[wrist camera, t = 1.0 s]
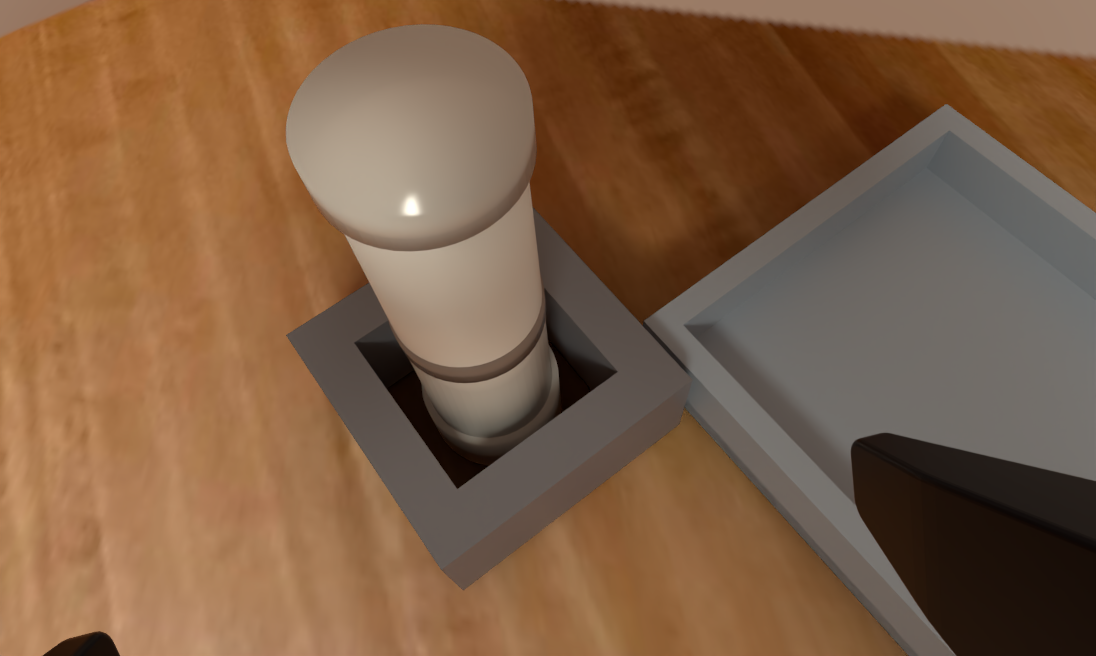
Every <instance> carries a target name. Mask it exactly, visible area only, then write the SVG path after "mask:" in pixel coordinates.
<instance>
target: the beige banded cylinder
mask: <svg viewBox="0 0 1096 656" xmlns="http://www.w3.org/2000/svg"><path fill="white" fill-rule="evenodd" d="M286 142H287V146H288V151H289V155H290V157H291V159H292V162H293V164H294V166H295V168H296V170H297V172H298V174H299V175H300V177H301V179H302V181H303V183H304V185H305V186H306V188H307V190H308V192H309V194H310V196H311V197H312V199H313V201H314V203H315V205H316V206H317V208H318V209H319V211H320V212H321V214H322V215H323V216H324V217H325V218H326V220H327V221H328V222H329V223H330V224H331V225H333V226H334V227H335V228H336V229H337V230H339V231H340V232H342V233H343V234H344V235H345V237H346V238H347V240H348V242H349V244H350V246H351V248H352V250H353V252H354V254H355V256H356V258H357V260H358V262H359V264H360V265H361V267H362V269H363V271H364V273H365V275H366V277H367V279H368V281H369V283H370V285H371V287H372V289H373V291H374V292H375V294H376V296H377V298H378V300H379V302H380V304H381V306H382V308H383V310H384V312H385V314H386V316H387V318H388V321H389V325H390V327H391V330H392V332H393V334H394V336H395V338H396V340H397V342H398V343H399V345H400V347H401V349H402V351H403V352H404V354H405V355H406V357H407V358H408V359H409V360H410V362H411V364H412V366H413V368H414V370H415V372H416V373H417V375H418V377H419V379H420V381H421V383H422V394H423V399H424V403H425V405H426V408H427V410H428V412H429V414H430V416H431V418H432V419H433V421H434V423H435V425H436V427H437V429H438V430H439V432H440V434H441V436H442V437H443V439H444V441H445V442H446V443H447V444H448V445H449V447H450V448H451V449H453V450H454V451H455V452H456V453H457V454H459V455H460V456H462V457H464V458H466V459H468V460H470V461H473V462H476V463H479V464H484V465H491V464H492V463H494V462H495V461H497V460H498V459H499V458H501V457H502V456H503V455H505V454H506V453H507V452H509V451H510V450H512V449H513V448H514V447H516V446H517V445H518V444H520V443H521V442H523V441H524V440H525V439H527V438H528V437H529V436H531V435H532V434H533V433H535V432H536V431H538V430H539V429H540V428H542V427H543V426H544V425H546V424H547V423H549V422H550V421H551V420H553V419H554V418H555V417H557V416H558V415H559V414H560V411H561V393H560V382H559V372H558V366H557V361H556V359H555V356H554V353H553V352H552V350H551V348H550V346H549V345H548V337H547V328H546V302H545V293H544V285H543V280H542V276H541V274H540V268H539V259H538V251H537V242H536V234H535V225H534V217H533V208H532V199H531V191H530V182H529V181H530V179H531V177H532V174H533V170H534V167H535V163H536V153H537V146H536V133H535V123H534V112H533V102H532V95H531V91H530V87H529V84H528V81H527V79H526V77H525V74H524V73H523V71H522V70H521V68H520V67H519V65H518V64H517V62H516V61H515V60H514V59H513V58H512V57H511V56H510V55H509V54H508V53H507V52H506V51H505V50H503V49H502V48H501V47H500V46H498V45H497V44H495V43H493V42H492V41H490V40H489V39H487V38H484V37H482V36H480V35H478V34H476V33H473V32H470V31H467V30H464V29H459V28H455V27H450V26H442V25H408V26H400V27H395V28H389V29H386V30H382V31H378V32H375V33H372V34H369V35H367V36H364V37H361V38H359V39H357V40H355V41H353V42H351V43H349V44H347V45H345V46H344V47H342V48H340V49H339V50H337V51H335V52H334V53H333V54H331V55H330V56H329V57H327V58H326V59H325V60H323V61H322V62H321V63H320V64H319V65H318V66H317V67H316V68H315V69H314V70H313V71H312V72H311V73H310V74H309V76H308V77H307V78H306V79H305V80H304V82H303V83H302V85H301V86H300V88H299V89H298V91H297V93H296V95H295V97H294V99H293V101H292V103H291V106H290V110H289V113H288V116H287V124H286Z"/></svg>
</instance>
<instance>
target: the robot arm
mask: <svg viewBox="0 0 1096 656" xmlns="http://www.w3.org/2000/svg"><path fill="white" fill-rule="evenodd" d="M851 464H852V476H853V488H854V499H855V504H856V507H857V510H858V513H859V515H860V517H861V519H862V520H863V522H864V524H865V525H866V527H867V528H868V530H869V531H870V533H871V534H872V536H873V537H874V539H875V540H876V542H877V544H878V545H879V547H880V548H881V550H882V551H883V553H884V554H885V556H886V557H887V559H888V561H889V562H890V564H891V565H892V567H893V568H894V570H895V571H896V573H897V574H898V576H899V577H900V579H901V581H902V582H903V584H904V585H905V587H906V588H907V590H908V591H909V593H910V594H911V596H912V597H913V599H914V601H915V602H916V604H917V605H918V607H919V608H920V609H921V611H922V612H923V614H924V615H925V617H926V618H927V620H928V621H929V622H930V624H931V625H932V626H933V627H934V629H935V630H936V631H937V633H938V634H939V635H940V636H941V638H942V639H943V640H944V641H945V643H946V644H947V645H948V646H949V648H950V649H951V650H952V651H953V652H954V654H955V655H956V656H1096V481H1094V480H1090V479H1085V478H1081V477H1077V476H1073V475H1068V474H1064V473H1060V472H1055V471H1051V470H1047V469H1042V468H1038V467H1034V466H1029V465H1025V464H1021V463H1017V462H1012V461H1008V460H1004V459H999V458H995V457H991V456H986V455H982V454H978V453H974V452H969V451H965V450H961V449H956V448H952V447H948V446H943V445H939V444H935V443H930V442H926V441H922V440H918V439H913V438H909V437H905V436H900V435H896V434H892V433H886V432H885V433H878V434H874V435H870V436H867V437H863V438H859V439H857V440H855V441H854V442H853V444H852V446H851ZM43 656H120V655H119V652H118V650H117V648H116V646H115V644H114V642H113V640H112V639H111V637H110V636H109V635H107V634H106V633H103V632H100V631H99V632H93V633H89V634H85V635H81V636H77V637H73V638H69V639H67V640H64V641H63V642H61V643H59V644H58V645H57V646H55V647H54V648H52V649H51V650H50V651H48V652H47V653H46V654H44V655H43Z"/></svg>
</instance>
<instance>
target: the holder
mask: <svg viewBox="0 0 1096 656" xmlns="http://www.w3.org/2000/svg"><path fill="white" fill-rule="evenodd" d="M532 208H533V207H532ZM533 217H534V225H535V234H536V242H537V251H538V259H539V268H540V274H541V276H542V280H543V285H544V293H545V302H546V328H547V337H548V339H549V340H550V341H551V343H552V344H553V345H554V346H555V347H556V348H557V350H558V351H559V352H560V353H561V354H562V356H563V357H564V358H565V359H566V360H567V361H568V363H569V364H570V365H571V366H572V367H573V369H574V370H575V371H576V372H577V373H578V374H579V376H580V377H581V378H582V379H583V380H584V381H585V383H586V384H587V385H588V386H589V387H590V389H591V390H592V391H591V392H590V393H588V394H587V395H586V396H584V397H583V398H581V399H580V400H579V401H577V402H576V403H575V404H573V405H572V406H570V407H569V408H568V409H566V410H565V411H564V412H562V413H561V414H559V415H558V416H557V417H555V418H554V419H553V420H551V421H550V422H549V423H547V424H546V425H544V426H543V427H542V428H540V429H539V430H538V431H536V432H535V433H533V434H532V435H531V436H529V437H528V438H527V439H525V440H524V441H523V442H521V443H520V444H518V445H517V446H516V447H514V448H513V449H512V450H510V451H509V452H507V453H506V454H505V455H503V456H502V457H501V458H499V459H498V460H497V461H495V462H494V463H492V464H491V465H490V466H488V467H487V468H486V469H484V470H483V471H481V472H480V473H479V474H477V475H476V476H475V477H473V478H472V479H470V480H469V481H468V482H466V483H465V484H464V485H462V486H461V487H460V488H458V489H457V488H456V487H455V485H454V484H453V482H452V481H451V479H450V478H449V477H448V475H447V474H446V472H445V471H444V470H443V468H442V467H441V465H440V464H439V462H438V461H437V460H436V458H435V457H434V455H433V454H432V453H431V451H430V450H429V448H428V447H427V445H426V444H425V443H424V441H423V440H422V438H421V437H420V436H419V434H418V433H417V431H416V430H415V429H414V427H413V426H412V424H411V423H410V421H409V420H408V419H407V417H406V416H405V414H404V413H403V412H402V410H401V409H400V407H399V406H398V404H397V403H396V402H395V400H394V399H393V397H392V396H391V395H390V393H389V392H388V390H387V388H388V387H390V386H391V385H393V384H394V383H395V382H397V381H398V380H400V379H401V378H403V377H404V376H406V375H407V374H409V373H410V372H412V371H413V370H414V368H413V366H412V364H411V362H410V360H409V359H408V358H407V357H406V355H405V354H404V352H403V351H402V349H401V347H400V345H399V343H398V342H397V340H396V338H395V336H394V334H393V332H392V330H391V327H390V325H389V321H388V318H387V316H386V314H385V312H384V310H383V308H382V306H381V304H380V302H379V300H378V298H377V296H376V294H375V292H374V291H373V289H372V287H371V285H370V283H368V284H366V285H365V286H363V287H361V288H360V289H358V290H357V291H355V292H354V293H352V294H350V295H349V296H347V297H346V298H344V299H342V300H341V301H339V302H338V303H336V304H335V305H333V306H331V307H330V308H328V309H327V310H325V311H323V312H322V313H320V314H319V315H317V316H316V317H314V318H312V319H311V320H309V321H308V322H306V323H305V324H303V325H301V326H300V327H298V328H297V329H295V330H293V331H292V332H290V333H289V334H287V335H286V336H287V337H288V339H289V340H290V342H291V343H292V345H293V346H294V348H295V349H296V351H297V352H298V354H299V355H300V357H301V358H302V360H303V361H304V363H305V365H306V366H307V368H308V369H309V371H310V372H311V374H312V375H313V377H314V378H315V380H316V381H317V383H318V384H319V386H320V387H321V389H322V390H323V392H324V393H325V395H326V396H327V398H328V399H329V401H330V402H331V404H332V405H333V407H334V408H335V410H336V411H337V413H338V414H339V416H340V417H341V419H342V420H343V422H344V424H345V425H346V427H347V428H348V430H349V431H350V433H351V434H352V436H353V437H354V439H355V440H356V442H357V443H358V445H359V446H360V448H361V449H362V451H363V452H364V454H365V455H366V457H367V458H368V460H369V461H370V463H371V464H372V466H373V467H374V469H375V470H376V472H377V473H378V475H379V476H380V478H381V479H382V481H383V482H384V484H385V486H386V487H387V489H388V490H389V492H390V493H391V495H392V496H393V498H394V499H395V501H396V502H397V504H398V505H399V507H400V508H401V510H402V511H403V513H404V514H405V516H406V517H407V519H408V520H409V522H410V523H411V525H412V526H413V528H414V529H415V531H416V532H417V534H418V535H419V537H420V538H421V540H422V541H423V543H424V545H425V546H426V548H427V549H428V551H429V552H430V554H431V555H432V557H433V558H434V560H435V561H436V563H437V564H438V566H439V567H440V569H441V570H442V571H443V572H444V573H445V574H446V575H447V576H448V577H449V578H450V579H452V580H453V581H454V582H455V583H456V584H457V585H458V586H459V587H460V588H461V589H462V590H464V589H466V588H467V587H468V586H470V585H471V584H472V583H474V582H475V581H476V580H477V579H479V578H480V577H481V576H483V575H484V574H485V573H487V572H488V571H489V570H490V569H492V568H493V567H494V566H496V565H497V564H498V563H500V562H501V561H502V560H503V559H505V558H506V557H507V556H509V555H510V554H511V553H513V552H514V551H515V550H516V549H518V548H519V547H520V546H522V545H523V544H524V543H526V542H527V541H528V540H529V539H531V538H532V537H533V536H535V535H536V534H537V533H539V532H540V531H541V530H542V529H544V528H545V527H546V526H548V525H549V524H550V523H552V522H553V521H554V520H555V519H557V518H558V517H559V516H561V515H562V514H563V513H565V512H566V511H567V510H568V509H570V508H571V507H572V506H574V505H575V504H576V503H578V502H579V501H580V500H581V499H583V498H584V497H585V496H587V495H588V494H589V493H591V492H592V491H593V490H594V489H596V488H597V487H598V486H600V485H601V484H602V483H604V482H605V481H606V480H607V479H609V478H610V477H611V476H613V475H614V474H615V473H617V472H618V471H619V470H620V469H622V468H623V467H624V466H626V465H627V464H628V463H630V462H631V461H632V460H633V459H635V458H636V457H637V456H639V455H640V454H641V453H643V452H644V451H645V450H646V449H648V448H649V447H650V446H652V445H653V444H654V443H656V442H657V441H658V440H659V439H661V438H662V437H663V436H665V435H666V434H667V433H668V432H670V431H671V430H672V429H674V428H675V427H676V426H678V425H679V423H680V420H681V417H682V413H683V410H684V407H685V404H686V400H687V397H688V394H689V391H690V387H691V384H692V381H693V380H692V379H691V378H690V376H689V375H688V374H687V373H686V372H685V371H684V370H683V369H682V368H681V367H680V366H679V365H678V363H677V362H676V361H675V360H674V359H673V358H672V357H671V356H670V355H669V354H668V353H667V352H666V351H665V349H664V348H663V347H662V346H661V345H660V344H659V343H658V342H657V341H656V340H655V339H654V338H653V336H652V335H651V334H650V333H649V332H648V331H647V330H646V329H645V328H644V327H643V326H642V325H641V323H640V322H639V321H638V320H637V319H636V318H635V317H634V316H633V315H632V314H631V313H630V312H629V311H628V309H627V308H626V307H625V306H624V305H623V304H622V303H621V302H620V301H619V300H618V299H617V298H616V296H615V295H614V294H613V293H612V292H611V291H610V290H609V289H608V288H607V287H606V286H605V285H604V283H603V282H602V281H601V280H600V279H599V278H598V277H597V276H596V275H595V274H594V273H593V272H592V271H591V269H590V268H589V267H588V266H587V265H586V264H585V263H584V262H583V261H582V260H581V259H580V258H579V256H578V255H577V254H576V253H575V252H574V251H573V250H572V249H571V248H570V247H569V246H568V245H567V243H566V242H565V241H564V240H563V239H562V238H561V237H560V236H559V235H558V234H557V233H556V232H555V230H554V229H553V228H552V227H551V226H550V225H549V224H548V223H547V222H546V221H545V220H544V219H543V218H542V216H541V215H540V214H539V213H538V212H537V211H536V210H535V209H534V208H533Z"/></svg>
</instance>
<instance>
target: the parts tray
mask: <svg viewBox="0 0 1096 656" xmlns="http://www.w3.org/2000/svg"><path fill="white" fill-rule="evenodd" d="M643 327H644V328H645V329H646V330H647V331H648V332H649V333H650V334H651V335H652V336H653V338H654V339H655V340H656V341H657V342H658V343H659V344H660V345H661V346H662V347H663V348H664V349H665V351H666V352H667V353H668V354H669V355H670V356H671V357H672V358H673V359H674V360H675V361H676V362H677V363H678V365H679V366H680V367H681V368H682V369H683V370H684V371H685V372H686V373H687V374H688V375H689V376H690V378H691V379H692V380H693V381H692V384H691V387H690V391H689V394H688V397H687V400H686V404H685V408H686V409H687V410H688V412H689V413H690V414H691V415H692V416H693V417H694V418H695V419H696V420H697V422H698V423H699V424H700V425H701V426H702V427H703V428H704V429H705V430H706V432H707V433H708V434H709V435H710V436H711V437H712V438H713V439H714V440H715V442H716V443H717V444H718V445H719V446H720V447H721V448H722V449H723V450H724V451H725V453H726V454H727V455H728V456H729V457H730V458H731V459H732V460H733V461H734V463H735V464H736V465H737V466H738V467H739V468H740V469H741V470H742V471H743V473H744V474H745V475H746V476H747V477H748V478H749V479H750V480H751V481H752V483H753V484H754V485H755V486H756V487H757V488H758V489H759V490H760V491H761V493H762V494H763V495H764V496H765V497H766V498H767V499H768V500H769V501H770V502H771V504H772V505H773V506H774V507H775V508H776V509H777V510H778V511H779V512H780V514H781V515H782V516H783V517H784V518H785V519H786V520H787V521H788V522H789V524H790V525H791V526H792V527H793V528H794V529H795V530H796V531H797V532H798V534H799V535H800V536H801V537H802V538H803V539H804V540H805V541H806V542H807V544H808V545H809V546H810V547H811V548H812V549H813V550H814V551H815V552H816V553H817V555H818V556H819V557H820V558H821V559H822V560H823V561H824V562H825V563H826V565H827V566H828V567H829V568H830V569H831V570H832V571H833V572H834V573H835V575H836V576H837V577H838V578H839V579H840V580H841V581H842V582H843V583H844V585H845V586H846V587H847V588H848V589H849V590H850V591H851V592H852V593H853V595H854V596H855V597H856V598H857V599H858V600H859V601H860V602H861V603H862V604H863V606H864V607H865V608H866V609H867V610H868V611H869V612H870V613H871V614H872V616H873V617H874V618H875V619H876V620H877V621H878V622H879V623H880V624H881V626H882V627H883V628H884V629H885V630H886V631H887V632H888V633H889V634H890V636H891V637H892V638H893V639H894V640H895V641H896V642H897V643H898V644H899V646H900V647H901V648H902V649H903V650H904V651H905V652H906V653H907V654H908V655H909V656H956V655H955V654H954V652H953V651H952V650H951V649H950V648H949V646H948V645H947V644H946V643H945V641H944V640H943V639H942V638H941V636H940V635H939V634H938V633H937V631H936V630H935V629H934V627H933V626H932V625H931V624H930V622H929V621H928V620H927V618H926V617H925V615H924V614H923V612H922V611H921V609H920V608H919V607H918V605H917V604H916V602H915V601H914V599H913V597H912V596H911V594H910V593H909V591H908V590H907V588H906V587H905V585H904V584H903V582H902V581H901V579H900V577H899V576H898V574H897V573H896V571H895V570H894V568H893V567H892V565H891V564H890V562H889V561H888V559H887V557H886V556H885V554H884V553H883V551H882V550H881V548H880V547H879V545H878V544H877V542H876V540H875V539H874V537H873V536H872V534H871V533H870V531H869V530H868V528H867V527H866V525H865V524H864V522H863V520H862V519H861V517H860V515H859V513H858V510H857V507H856V504H855V499H854V488H853V476H852V464H851V446H852V444H853V442H854V441H855V440H857V439H859V438H863V437H867V436H870V435H874V434H878V433H885V432H886V433H892V434H896V435H900V436H905V437H909V438H913V439H918V440H922V441H926V442H930V443H935V444H939V445H943V446H948V447H952V448H956V449H961V450H965V451H969V452H974V453H978V454H982V455H986V456H991V457H995V458H999V459H1004V460H1008V461H1012V462H1017V463H1021V464H1025V465H1029V466H1034V467H1038V468H1042V469H1047V470H1051V471H1055V472H1060V473H1064V474H1068V475H1073V476H1077V477H1081V478H1085V479H1090V480H1094V481H1096V213H1095V212H1094V211H1092V210H1091V209H1089V208H1088V207H1087V206H1085V205H1084V204H1083V203H1081V202H1080V201H1078V200H1077V199H1076V198H1074V197H1073V196H1072V195H1070V194H1069V193H1068V192H1066V191H1065V190H1063V189H1062V188H1061V187H1059V186H1058V185H1057V184H1055V183H1054V182H1053V181H1051V180H1050V179H1048V178H1047V177H1046V176H1044V175H1043V174H1042V173H1040V172H1039V171H1037V170H1036V169H1035V168H1033V167H1032V166H1031V165H1029V164H1028V163H1027V162H1025V161H1024V160H1022V159H1021V158H1020V157H1018V156H1017V155H1016V154H1014V153H1013V152H1012V151H1010V150H1009V149H1007V148H1006V147H1005V146H1003V145H1002V144H1001V143H999V142H998V141H997V140H995V139H994V138H992V137H991V136H990V135H988V134H987V133H986V132H984V131H983V130H981V129H980V128H979V127H977V126H976V125H975V124H973V123H972V122H971V121H969V120H968V119H966V118H965V117H964V116H962V115H961V114H960V113H958V112H957V111H956V110H954V109H953V108H951V107H950V106H949V105H947V104H945V105H944V106H943V107H941V108H940V109H938V110H937V111H936V112H934V113H933V114H931V115H930V116H929V117H927V118H926V119H925V120H923V121H922V122H920V123H919V124H918V125H916V126H915V127H913V128H912V129H911V130H909V131H908V132H906V133H905V134H904V135H902V136H901V137H899V138H898V139H897V140H895V141H894V142H892V143H891V144H890V145H888V146H887V147H885V148H884V149H883V150H881V151H880V152H879V153H877V154H876V155H874V156H873V157H872V158H870V159H869V160H867V161H866V162H865V163H863V164H862V165H860V166H859V167H858V168H856V169H855V170H853V171H852V172H851V173H849V174H848V175H846V176H845V177H844V178H842V179H841V180H839V181H838V182H837V183H835V184H834V185H833V186H831V187H830V188H828V189H827V190H826V191H824V192H823V193H821V194H820V195H819V196H817V197H816V198H814V199H813V200H812V201H810V202H809V203H807V204H806V205H805V206H803V207H802V208H800V209H799V210H798V211H796V212H795V213H793V214H792V215H791V216H789V217H788V218H787V219H785V220H784V221H782V222H781V223H780V224H778V225H777V226H775V227H774V228H773V229H771V230H770V231H768V232H767V233H766V234H764V235H763V236H761V237H760V238H759V239H757V240H756V241H754V242H753V243H752V244H750V245H749V246H748V247H746V248H745V249H743V250H742V251H741V252H739V253H738V254H736V255H735V256H734V257H732V258H731V259H729V260H728V261H727V262H725V263H724V264H722V265H721V266H720V267H718V268H717V269H715V270H714V271H713V272H711V273H710V274H708V275H707V276H706V277H704V278H703V279H702V280H700V281H699V282H697V283H696V284H695V285H693V286H692V287H690V288H689V289H688V290H686V291H685V292H683V293H682V294H681V295H679V296H678V297H676V298H675V299H674V300H672V301H671V302H669V303H668V304H667V305H665V306H664V307H662V308H661V309H660V310H658V311H657V312H656V313H654V314H653V315H651V316H650V317H649V318H647V319H646V320H644V323H643Z"/></svg>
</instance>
